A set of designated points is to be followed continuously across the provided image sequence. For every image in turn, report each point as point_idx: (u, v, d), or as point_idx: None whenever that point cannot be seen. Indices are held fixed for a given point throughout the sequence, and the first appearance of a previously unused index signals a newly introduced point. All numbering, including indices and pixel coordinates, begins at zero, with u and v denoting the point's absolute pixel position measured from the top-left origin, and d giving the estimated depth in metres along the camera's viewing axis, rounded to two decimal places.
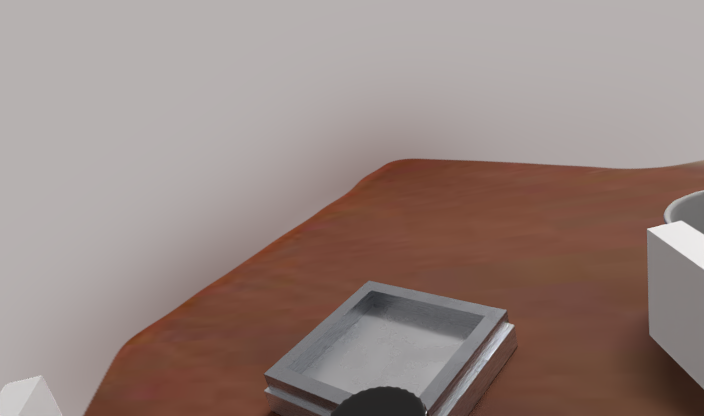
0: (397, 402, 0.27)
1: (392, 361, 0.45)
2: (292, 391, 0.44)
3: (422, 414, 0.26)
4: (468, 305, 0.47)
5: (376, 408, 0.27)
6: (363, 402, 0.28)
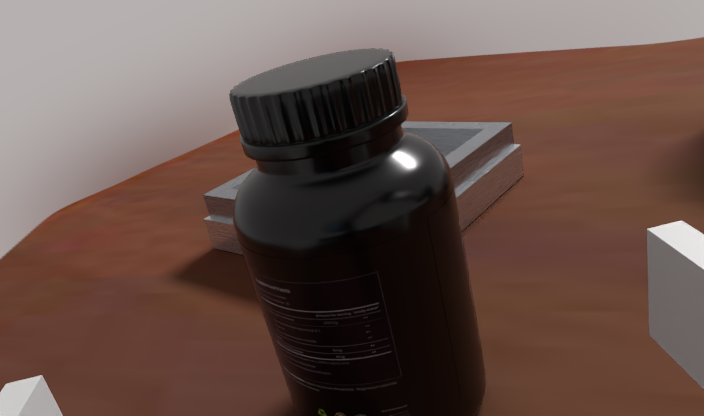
0: (348, 55, 0.18)
1: None
2: None
3: (384, 53, 0.17)
4: (463, 124, 0.38)
5: (315, 63, 0.18)
6: (297, 64, 0.18)
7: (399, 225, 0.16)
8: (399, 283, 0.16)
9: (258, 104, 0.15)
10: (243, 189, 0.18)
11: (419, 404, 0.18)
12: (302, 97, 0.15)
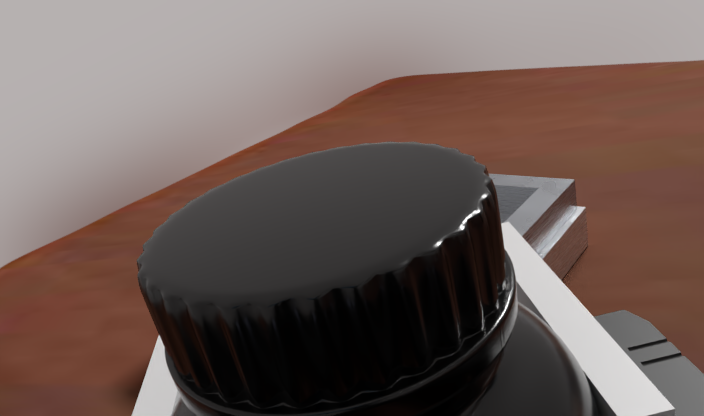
0: (387, 161, 0.09)
1: None
2: None
3: (470, 170, 0.08)
4: (508, 178, 0.29)
5: (322, 178, 0.09)
6: (287, 173, 0.09)
7: None
8: None
9: (189, 318, 0.06)
10: None
11: None
12: (293, 314, 0.06)
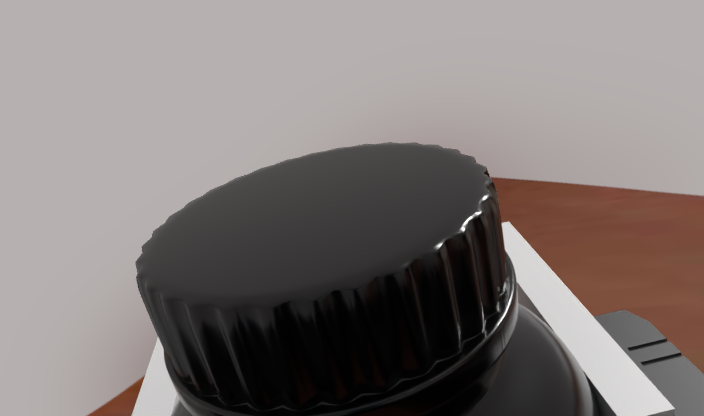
0: (387, 162, 0.09)
1: None
2: None
3: (471, 171, 0.08)
4: None
5: (322, 179, 0.09)
6: (286, 174, 0.09)
7: None
8: None
9: (187, 321, 0.06)
10: None
11: None
12: (293, 316, 0.06)
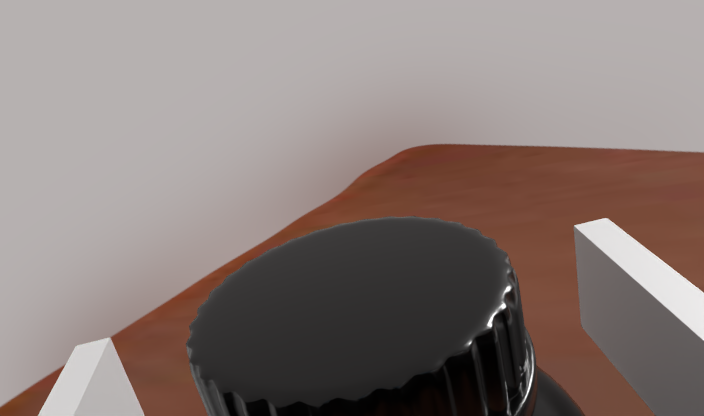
0: (413, 241, 0.09)
1: None
2: None
3: (492, 257, 0.08)
4: None
5: (353, 257, 0.09)
6: (318, 249, 0.10)
7: None
8: None
9: (242, 410, 0.07)
10: None
11: None
12: (340, 411, 0.07)
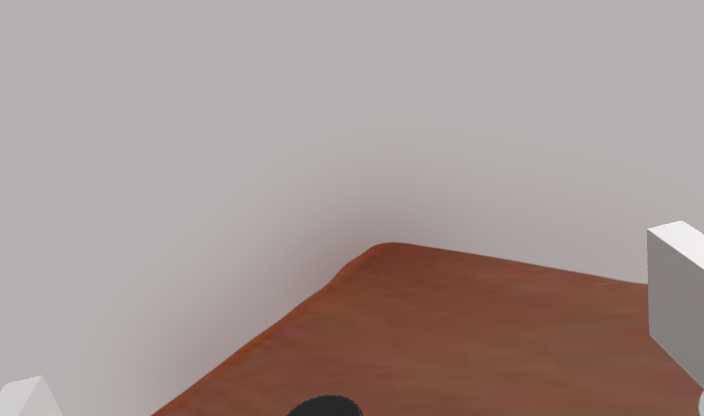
0: (339, 407, 0.34)
1: None
2: None
3: None
4: None
5: (322, 412, 0.34)
6: (312, 407, 0.34)
7: None
8: None
9: None
10: None
11: None
12: None
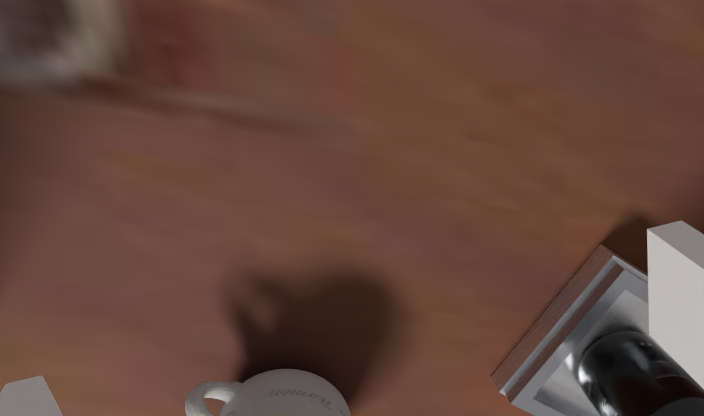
0: None
1: None
2: None
3: None
4: (543, 414, 0.47)
5: None
6: None
7: (658, 403, 0.39)
8: (649, 385, 0.41)
9: None
10: None
11: (620, 349, 0.45)
12: None
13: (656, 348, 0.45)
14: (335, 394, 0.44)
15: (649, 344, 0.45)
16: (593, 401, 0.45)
